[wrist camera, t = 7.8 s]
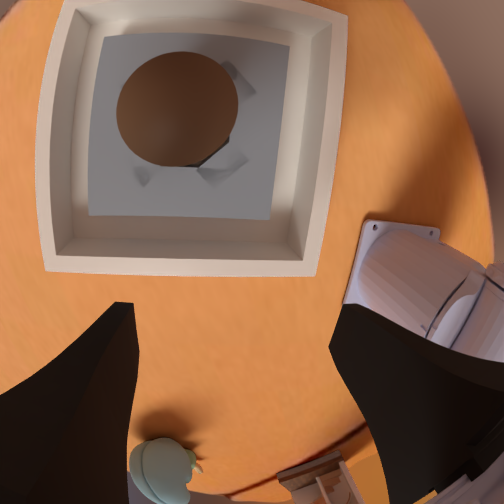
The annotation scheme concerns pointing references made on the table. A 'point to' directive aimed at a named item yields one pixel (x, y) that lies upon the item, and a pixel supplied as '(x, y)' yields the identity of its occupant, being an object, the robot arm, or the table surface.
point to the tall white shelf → (321, 482)
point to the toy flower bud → (163, 470)
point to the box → (206, 170)
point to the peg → (177, 109)
